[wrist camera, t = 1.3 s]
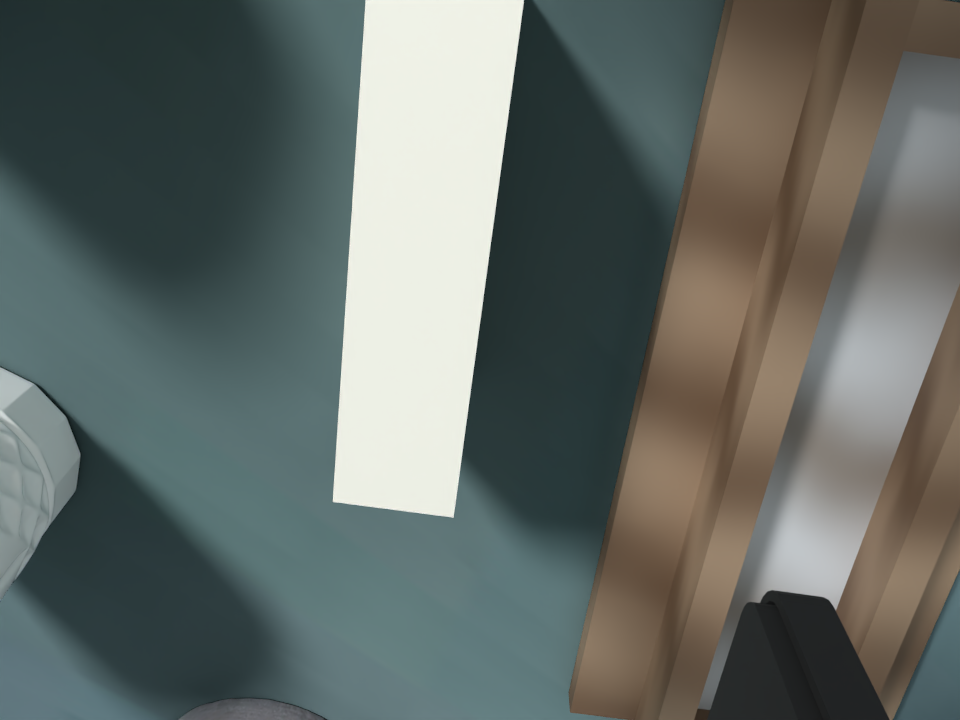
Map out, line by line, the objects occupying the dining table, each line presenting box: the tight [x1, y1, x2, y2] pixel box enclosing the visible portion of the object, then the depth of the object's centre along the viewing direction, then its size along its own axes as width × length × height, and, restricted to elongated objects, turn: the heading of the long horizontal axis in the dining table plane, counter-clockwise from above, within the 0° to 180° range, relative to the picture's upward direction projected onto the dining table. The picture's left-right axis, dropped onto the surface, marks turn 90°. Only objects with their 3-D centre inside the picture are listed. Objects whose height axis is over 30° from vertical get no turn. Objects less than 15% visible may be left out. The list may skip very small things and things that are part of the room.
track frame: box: [569, 0, 960, 720], centre depth 27 cm, size 26×12×3 cm, turn 173°
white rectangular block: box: [333, 0, 524, 517], centre depth 23 cm, size 12×3×8 cm, turn 173°
